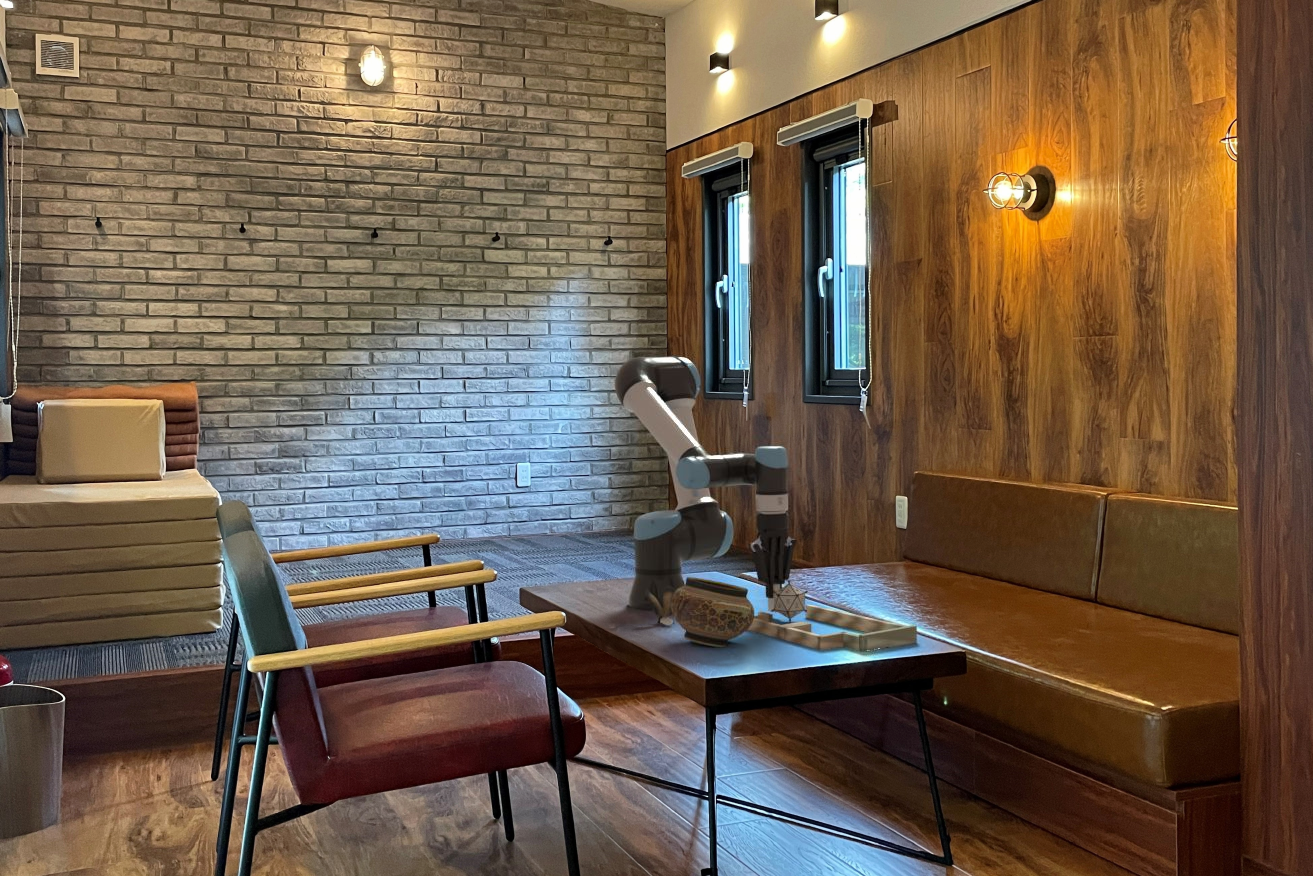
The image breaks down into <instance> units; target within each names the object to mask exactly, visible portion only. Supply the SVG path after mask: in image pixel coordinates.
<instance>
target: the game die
mask: <svg viewBox="0 0 1313 876" xmlns="http://www.w3.org/2000/svg"><path fill="white" fill-rule="evenodd" d="M772 592H773V593H775V597H774V609H773V610H771V611H770V612H771V613H774V612H773V611H774V610H775V611H777V612H776V613H779V614H780V615H782V616H784V617H786V618H787V619H788V622H789V623H792V618H794V617H795V616H797V615H799V614H801V613H802V612H807V610H805V605H806V594H808V592H809V590H804V591H803V590H802V589H800V588H798V587H796V586H794V585H793V584H791V581H790V580H787V584H785V585H784V586H782V588H781V589H779V590H778V591H776V592H775V591H774V590H773V591H772Z"/></svg>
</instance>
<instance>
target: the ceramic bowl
mask: <svg viewBox="0 0 1313 876" xmlns="http://www.w3.org/2000/svg"><path fill="white" fill-rule="evenodd" d="M748 593H749V589H748V588H746V587H742V586H738V585H734V584H730V583H726V582H721V581H715V580H712V579H704V578H701V577H700V578H699V577H691V576H688V577H686V578H685V585H684V586H682V587H680V588H678V589H677V590H676V591H675V592H674V593H673V595H672V597H671V610H672V613H673V615H672V616H673V618H674V619H675V621H676V622H677V624H678V625H679V626H680V627H681V628H682V629H683V630H684V631H685V632H684V636H683V637H684V639H686V640H689V641H691V642H694V643H697V644H699V645H700V644H701V645H705V646H710V647H716V648H724V647H727V646H729V643H728V642H729V641H730V640H733V639H734V638H738V637H739V636H741V635H743V634H744V633H745V632H746V631H747V629H748V628H749V627H750V625H751V624H752V622H753V619H754V616H755V609H754V606H753V604H752V602H751V601H750V600H749V599H748V596H747V595H748Z"/></svg>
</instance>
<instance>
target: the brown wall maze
mask: <svg viewBox="0 0 1313 876" xmlns="http://www.w3.org/2000/svg"><path fill="white" fill-rule="evenodd" d="M805 610H807V612H805V618H806V619H810V620H815V621H817V622H818V621H819V622H823V623H827V624H831V625H836V626H839V627H843V628H849V629H852V630H856V631H860V632H865V633H861V634H855V633H851V632H848V631H839V632H833V633H827V634H823V635H822V634H817V633H814V632H812V623H810V622H807V621H806V622H805V621H798V622H790V623H785V624H778V623H775V622H774V618H773V617H774V614H773V613H768V612H765V611H758V612H757V615H754V619H753V622H752V624H751V625H750V627H749V628H748V629H747V630H748V631H750V632H751V631H752V632H755V633H759V634H762V635H765V636H769V637H772V638H775V639H776V638H777V639H780V640H783V641H788V642H790V643H791V642H792V643H795V644H799V645H802V646H805V647H809V648H813V649H816V650H819V649H820V651H824V649H826V650H831V648H832V649H837V648H836V647H839V648H846V647H847V649H850V648H851V649H850V650H854V649H855V650H854V651H857V650H860V651H859V652H861V651H866V652H868V651H867V650H872V651H875V650H874V649H878V648H884V649H887V648H886V647H889V648H894V647H899V646H905V645H910V644H914V643H918V631H917V630H918V629H917V628H918V626H917V625H914V624H912V625H907V624H902V623H901V624H900V623H896V622H891V621H886V620H885V621H884V620H881V619H876V618H871V617H868V616H867V617H866V616H864V615H863V616H862V615H860V614H859V615H858V614H854V613H851V612H850V613H849V612H846V611H845V612H844V611H841V610H836V609H832V608H827V607H824V606H823V607H822V606H818V605H813V604H805ZM747 630H746V631H747Z"/></svg>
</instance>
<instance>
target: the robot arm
mask: <svg viewBox="0 0 1313 876" xmlns="http://www.w3.org/2000/svg"><path fill="white" fill-rule="evenodd" d="M700 386H701V377H700V374H699V371H698V369H697V367H696V365H695V364H694V363H693V362H692V361H691V360H689V359H688V358H686V357H680V356H674V355H673V356H672V355H671V356H646V357H644V356H638V357H637V356H636V357H633V358H631V359H628V360H627V361H625V362H624V363H623V364H622V365H621V366H620V368H619V370H618V371H617V372H616V376H615V379H614V390H615V395H616V396H617V399H618V401H619V402H620V404H621V405H622V407H624V409H625V410H626V411H628V412H629V413H634V415H635V416H636V417H637V418H638V420H639V421H640V422H641V423H642V425H644V427H645V428H646V429H647V430H648V431H649V433H650V434H651V435H652V437H653V438H654V439H655V440H656V441H657V442H658V444H659V445H660V446H661V447H662V449H663V450H664V451H665V453H666V455H667V458H668V462H669V467H670V472H671V476H672V477H671V478H672V481H673V486H674V492H675V495H676V500H677V506H676V508H675V509H674V510H673V509H670V510H658V511H657V510H655V511H652V512H651V511H650V512H648V513H644V514H642V515H639V516H638V517H637V518H636V519H635V521H634V527H633V538H634V541H633V542H634V543H633V544H634V579H633V582H632V586H631V589H630V593H629V596H628V607H629V606H630V607H629V608H631V609H633V608H634V610H637V611H638V610H639V611H645V612H646V611H648V612H654V610H653V609H654V608H653V606H652V605H651V603H650V602H649V600H648V598H647V594H646V593H647V592H646V591H647V589H648V591H650V592H651V594H652V595H653V596H654V597H655V598H656V599H657V601H658V602H659V604H660V606H661V608H662V606H663V594H664V589H666V587H668V586H669V587H672V588H674V589H675V590H677V589H678V588H680V587H682V586H684V585H685V584H686V582H685V581H684V578H683V574H682V573H683V572H682V571H683V569H682V568H683V567H682V563H683V562H688V561H696V560H698V561H699V560H702V559H703V560H704V559H706V560H710V559H711V560H712V558H717V557H721V556H723V555H725V554H726V553H727V552H728V550H729V549H730V547H731V544H732V543H733V539H734V538H733V537H734V524H733V521H732V519H731V517H730V516H729V515H728V513H727V512H726V511H723V510H720V505H719V502H718V500H716V499H714V498H713V497H711V493H710V492H711V491H710V488H717V487H718V488H719V487H732V486H743V485H745V486H755V507H756V508H755V510H756V512H757V513H756V517H755V518H756V529H757V531H758V532H757V535H756V539H755V541H754V542H750V543H749V544H748V548H749V550H750V551H751V553H752V558H753V562H754V567H755V572H756V576H757V580H758V582H760V583H762V584H764V585H765V597H766V598H767V610H768V612H771V610H773V609H774V597H775V593H773V592H772V591H773V590H774V591H775V592H776V591H778V590H779V589H781V588H782V587H783V585H784V584H785V583H786V581H789V580H790V573H791V568H792V562H793V556H794V549H795V547H796V545H797V543H798V541H797V539H794V538H791V537H790V536H789V531H788V528H789V527H790V526H789V523H790V521H789V513H788V512H786V511H788V510H789V491H788V490H789V485H788V483H789V479H788V478H789V477H788V476H789V475H788V474H789V473H788V472H789V471H788V469H789V468H788V467H789V462H788V454H787V449H786V448H785V447H784V446H781V445H778V446H777V445H776V446H773V445H772V446H771V445H769V446H768V445H767V446H757V447H756V448H755V450H754V451H755V452H754V453H745V452H733V453H728V454H716V455H711V454H709V453H708V452H707V451H706V450H705V449H704V447H703V445H701V444H700V442H699V438H698V432H697V429H696V425H695V421H694V416H693V411H692V410H693V408H694V406H695V405H696V398H697V396H698V394H700V393H699V392H700ZM772 613H775V614H776V613H778V612H777V611H775V610H774V611H773V612H772Z"/></svg>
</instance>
